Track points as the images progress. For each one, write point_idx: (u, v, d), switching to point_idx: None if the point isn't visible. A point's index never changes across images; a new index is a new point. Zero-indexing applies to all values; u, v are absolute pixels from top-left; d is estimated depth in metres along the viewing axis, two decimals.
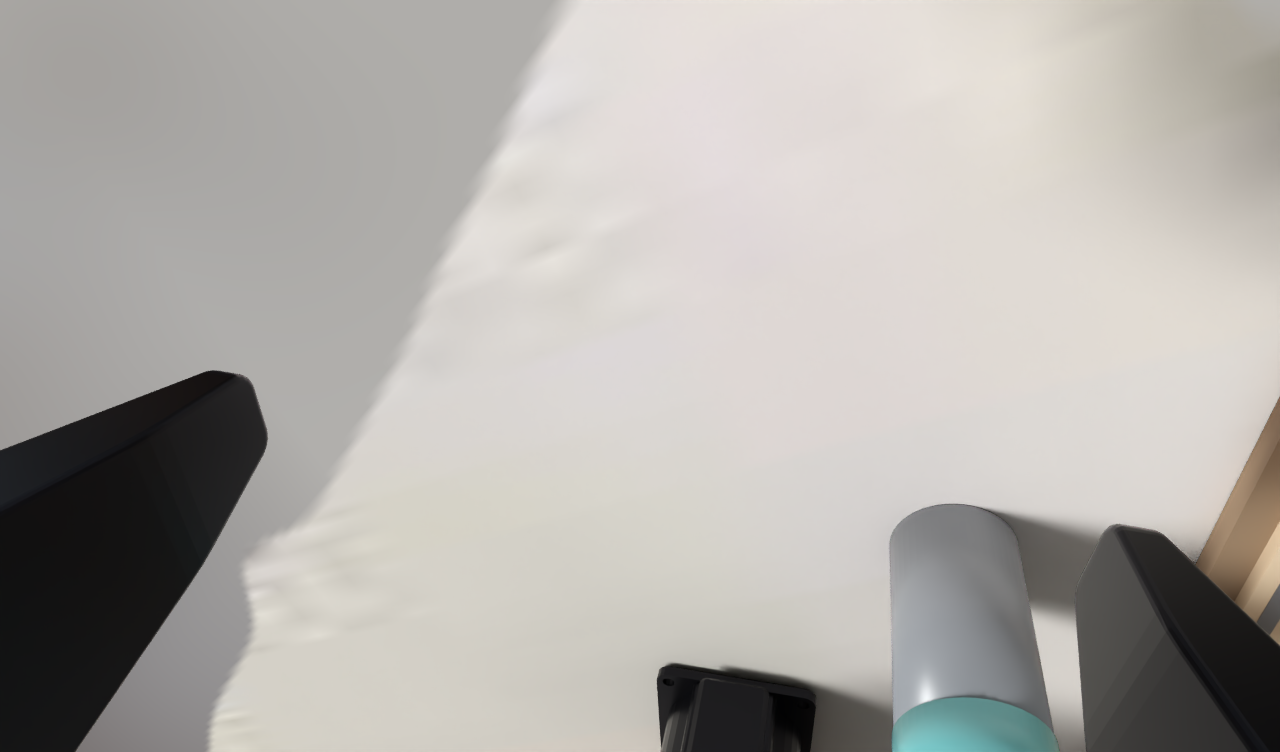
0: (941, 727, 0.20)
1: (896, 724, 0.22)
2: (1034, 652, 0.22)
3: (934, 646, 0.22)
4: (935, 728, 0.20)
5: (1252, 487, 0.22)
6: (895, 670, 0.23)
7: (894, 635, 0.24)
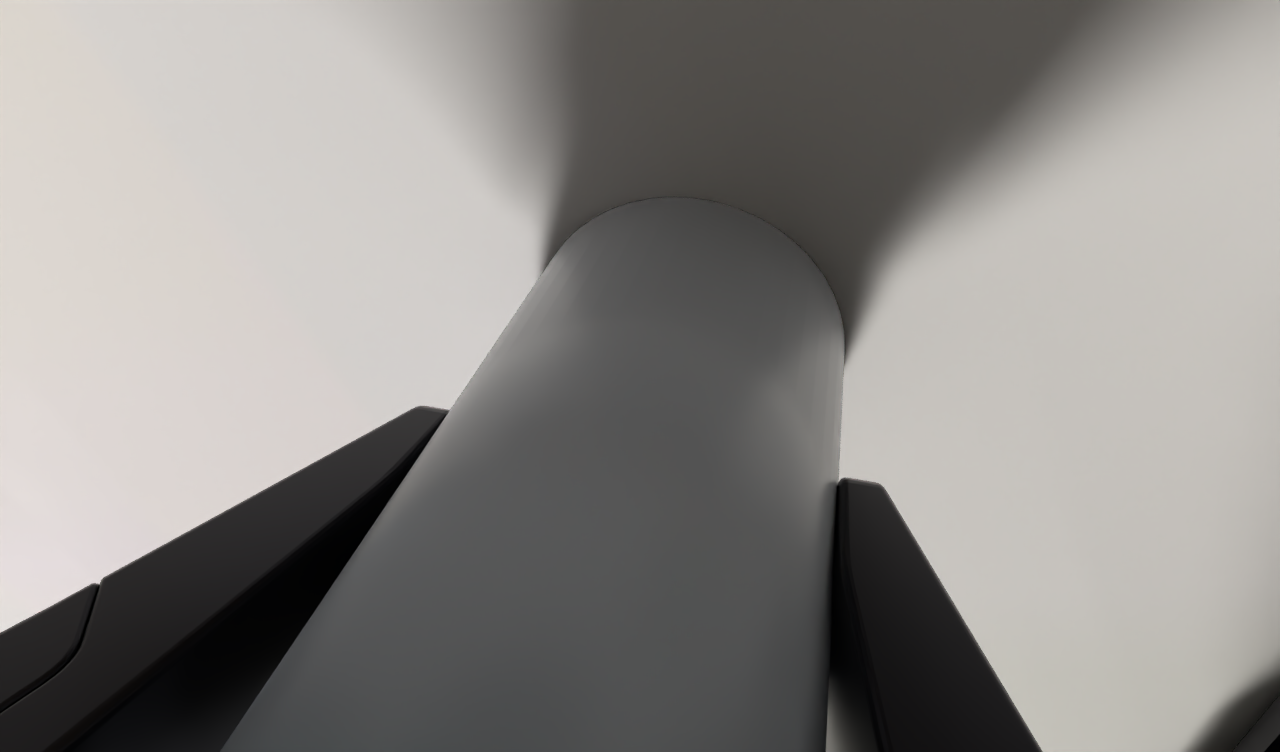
0: None
1: None
2: (426, 479, 0.06)
3: None
4: None
5: None
6: None
7: None
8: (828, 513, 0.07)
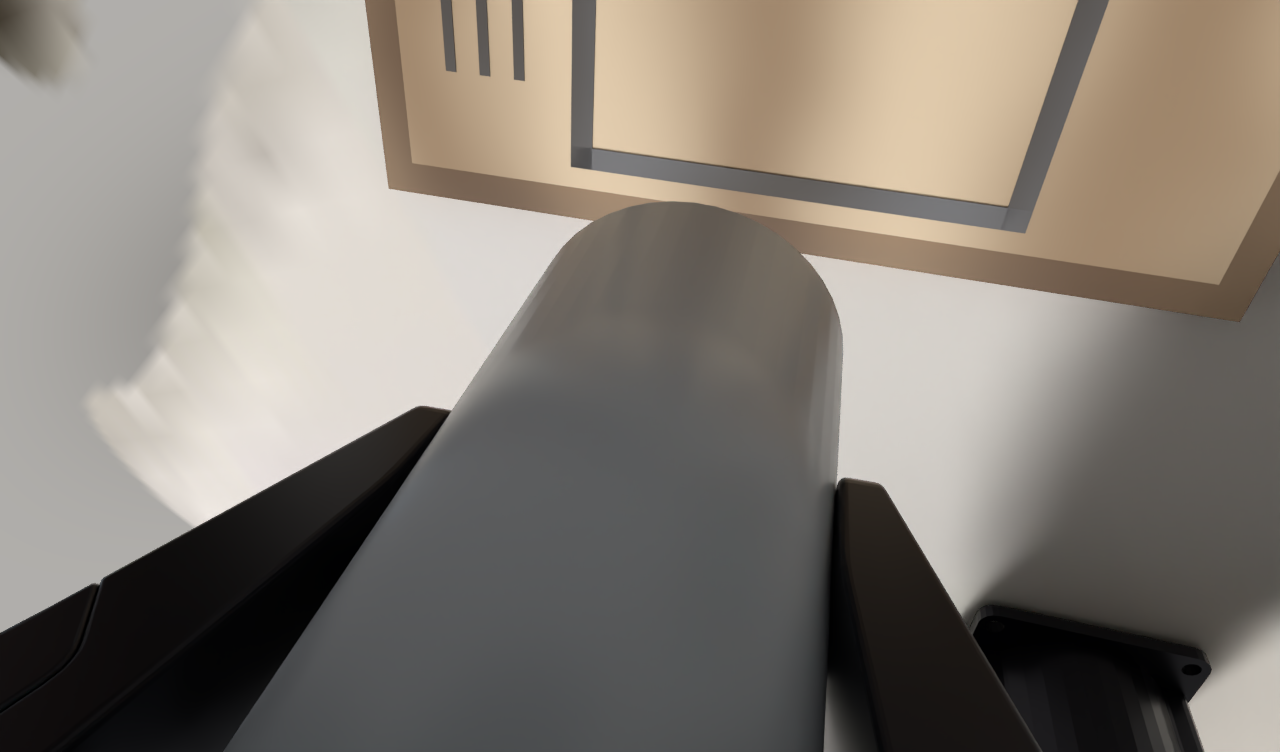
0: None
1: None
2: (425, 485, 0.06)
3: None
4: None
5: (555, 213, 0.20)
6: None
7: None
8: (826, 518, 0.07)
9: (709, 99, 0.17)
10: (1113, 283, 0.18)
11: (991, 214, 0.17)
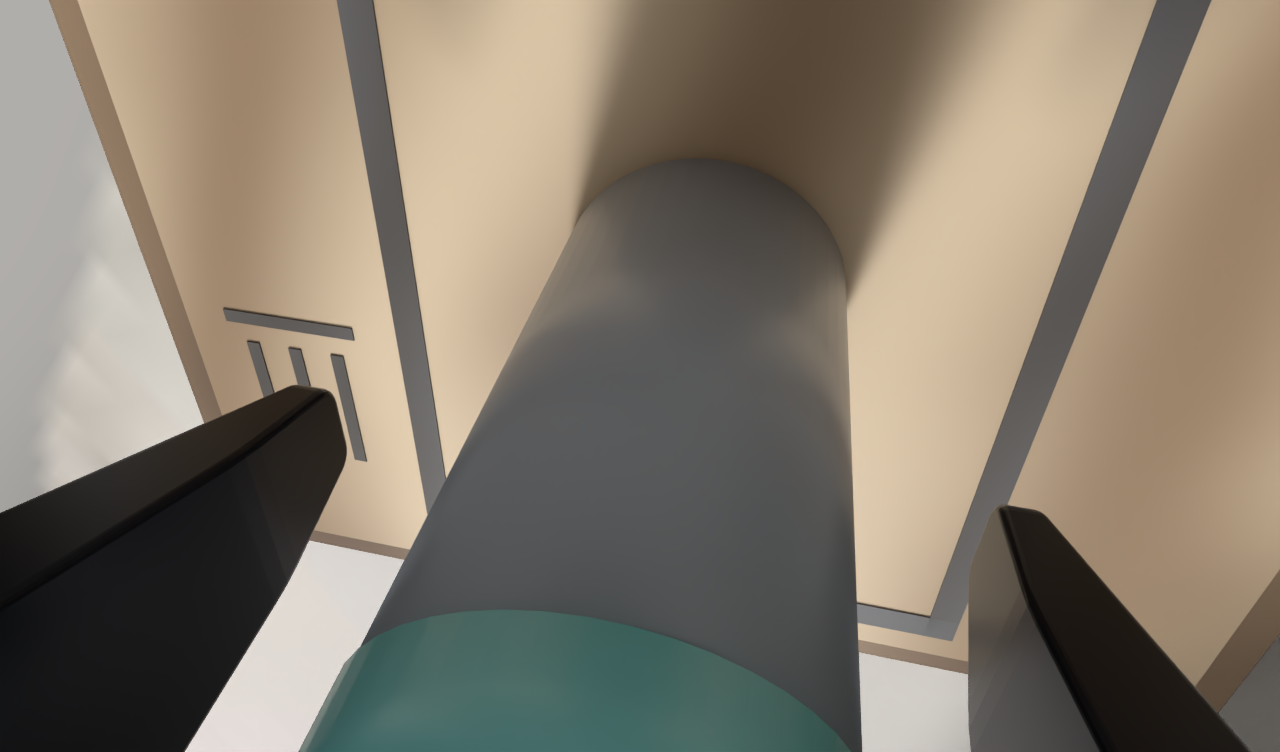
0: None
1: None
2: (512, 405, 0.07)
3: None
4: None
5: None
6: None
7: None
8: (847, 427, 0.08)
9: None
10: None
11: (911, 621, 0.15)
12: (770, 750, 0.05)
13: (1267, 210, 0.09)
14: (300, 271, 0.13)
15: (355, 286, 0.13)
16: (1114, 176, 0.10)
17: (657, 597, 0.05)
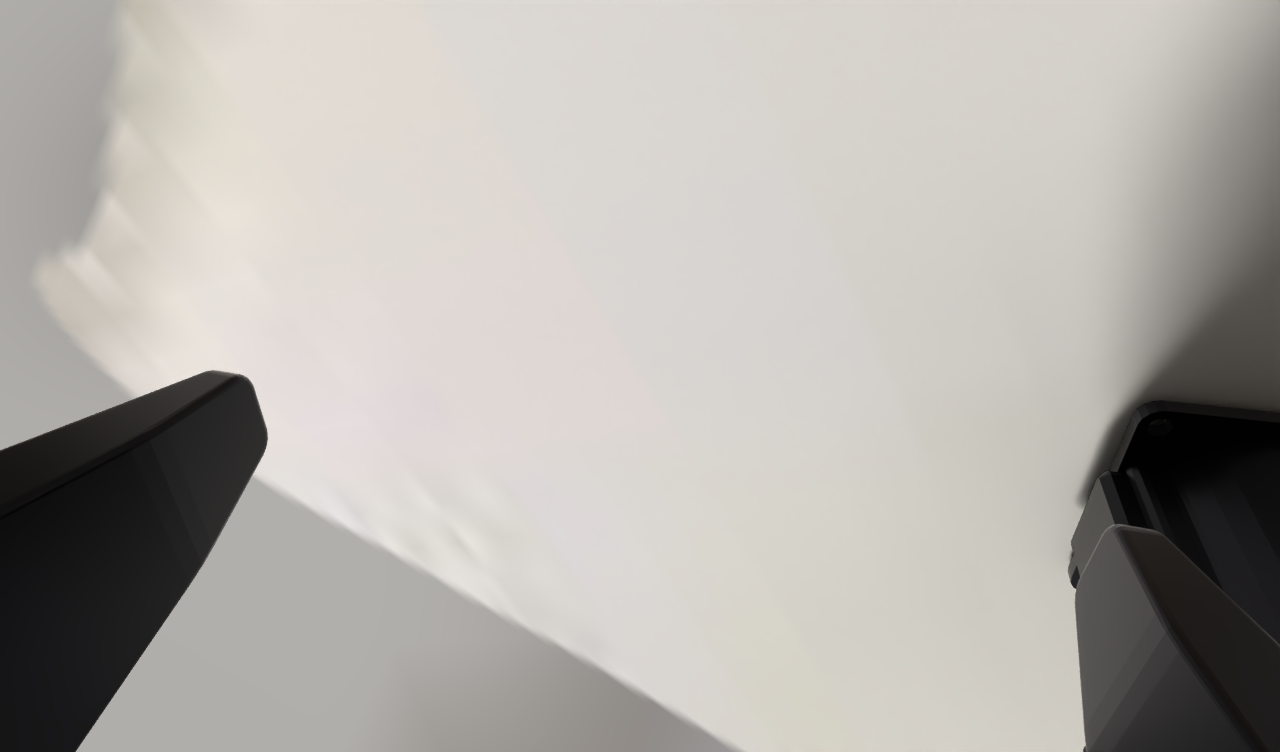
0: None
1: None
2: None
3: None
4: None
5: None
6: None
7: None
8: None
9: None
10: None
11: None
12: None
13: None
14: None
15: None
16: None
17: None
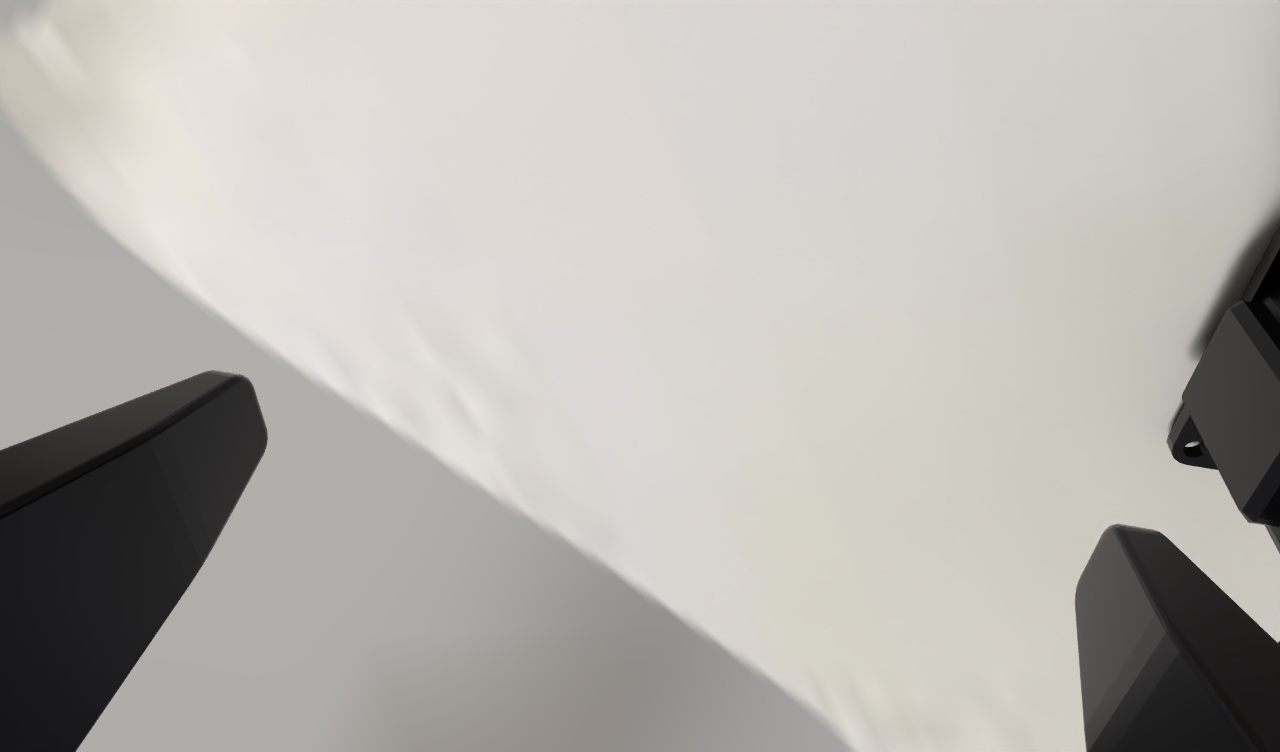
0: None
1: None
2: None
3: None
4: None
5: None
6: None
7: None
8: None
9: None
10: None
11: None
12: None
13: None
14: None
15: None
16: None
17: None
